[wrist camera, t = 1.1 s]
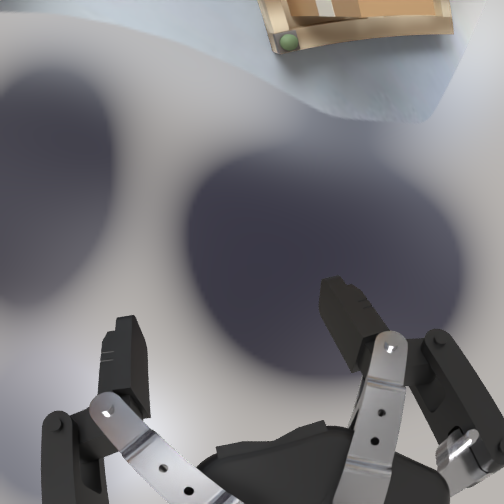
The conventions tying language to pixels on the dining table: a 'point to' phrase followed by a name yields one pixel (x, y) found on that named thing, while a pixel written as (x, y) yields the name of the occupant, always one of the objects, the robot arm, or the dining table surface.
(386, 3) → the tan cardboard box
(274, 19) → the pallet
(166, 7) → the dining table surface
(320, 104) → the dining table surface
